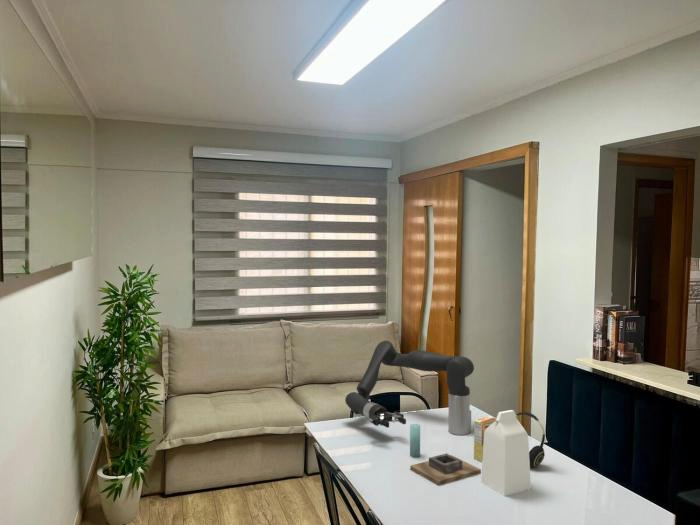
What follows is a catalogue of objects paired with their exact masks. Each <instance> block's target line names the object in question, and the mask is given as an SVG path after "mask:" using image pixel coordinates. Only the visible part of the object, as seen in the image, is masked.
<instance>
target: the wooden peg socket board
mask: <svg viewBox="0 0 700 525" xmlns="http://www.w3.org/2000/svg"><path fill="white" fill-rule="evenodd" d="M409 470H410V471H412V472H414V473H416V474H417V475H419V476H421V477H422V478H425V479H426V480H428V481H430V482H431V483H433V484H435V485H437V486H443V485H445V484H448V483H452V482H456V481H459V480H462V479H467V478H468V477H473V476H477V475H480V474H482V468H480V467H476V466H475V465H473V464H471V463H468V462H467V461H464V460H463V459H460V458H458V457H456V456H454V455H452V454H449V453H443V454H439V455H434V456H431V457H428V460H427V461H423V462H420V463H416V464H411V465H410V468H409Z"/></svg>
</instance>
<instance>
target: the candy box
mask: <svg viewBox="0 0 700 525" xmlns="http://www.w3.org/2000/svg"><path fill="white" fill-rule="evenodd" d="M495 421H496V418H495V417H493V416H485V417H482V418H478V419H476V420H474V423H473V424H474V425H473V426H474V427H473V428H474V429H473V430H474V431H473V436H474V437H473V459H474V460H476V461H478V462H481V463H482V460H483V443H484V432H485V430H486V428H487V427H489V426H490V425H491V424H492V423H493V422H495Z"/></svg>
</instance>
